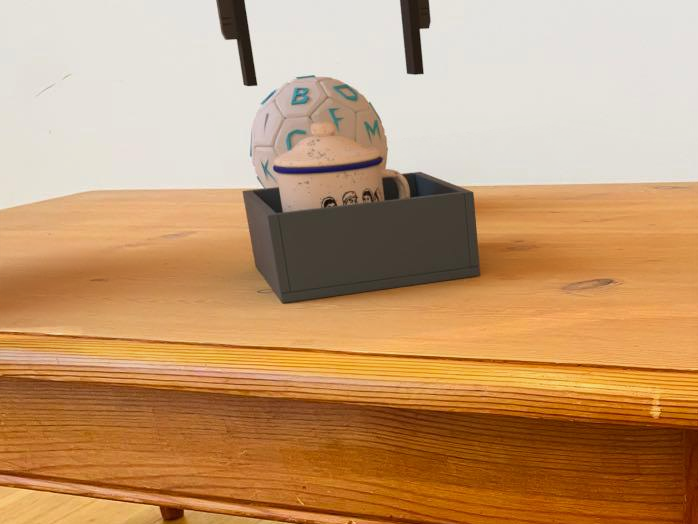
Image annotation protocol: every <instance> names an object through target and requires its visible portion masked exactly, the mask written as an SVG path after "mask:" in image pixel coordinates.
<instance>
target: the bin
mask: <svg viewBox="0 0 698 524" xmlns="http://www.w3.org/2000/svg"><path fill="white" fill-rule="evenodd" d="M401 174H402V175H403V176H404V177H405V178H406V180H407V182H408V184H409V189H410V198H403V199H399V190H398V186H397V184H396V182H395V181H394V180H393V179H392V178H390V177H387V178H382V184H383V192H384V200H385V201H377V202H368V203H360V204H351V205H342V206H334V207H325V208H316V209H308V210H299V211H290V212H283V210H282V203H281V197H280V191H279V187H274V188H265V189H264V188H257V189H249V190H248V189H247V190H242V196H243V203H244V209H245V214H246V220H247V226H248V233H249V237H250V242H251V248H252V254H253V258H254V259H253V260H254V265H255V268H256V269H257V271H258V273H259V274H260V275H261V276H262V277H263V279H264V280H265V282H266V283H267V285H269V287H270V289H271V290H272V292H273V293H274V294H275V295H276V296H277V298H278V299H279V301H280V302H281V303H282V304H289V303H295V302H303V301H309V300H316V299H317V300H318V299H325V298H331V297H338V296H345V295H353V294H359V293H367V292H374V291H381V290H388V289H396V288H403V287H409V286H417V285H418V286H419V285H425V284H430V283H431V284H433V283H438V282H447V281H452V280H453V281H454V280H460V279H466V278H467V279H468V278H474V277H480V276H481V267H480V255H479V252H480V251H479V242H478V230H477V218H476V208H475V195H474V194H475V193H474V191H471V190H469V189H467V188H464V187H462V186H458V185H456V184H454V183H451V182H448V181H446V180H444V179H440V178H438V177H435V176H432V175H430V174H428V173H426V172H425V173H424V172H422V171H415V172H406V173H405V172H404V173H401Z"/></svg>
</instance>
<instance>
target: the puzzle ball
mask: <svg viewBox="0 0 698 524" xmlns="http://www.w3.org/2000/svg"><path fill="white" fill-rule="evenodd" d="M294 77H295V76H294ZM260 105H261V106H260V107H259V108H258V110H257V112H256V113H255V117H254V119H253V121H252V125H251V128H250V129H251V131H250V132H251V133H250V149H249V157H251V163H252V165H253V167H254V173H255V175H256V179H257V181H258V182H259V183H260V185H261V186H262V187H263V189H265V188H274V187H279V185H278V178H277V172H275V171H274V170H273V166H274V160H275V158H276V157H277V156H279V155H282V154H284V153H286V152H288V151H290V150H291V149H292V148H294V147H295V146H296V145H297V144H298V143H299V142H300V141H301V140H303V139H305V138H307V137H311V136H314V135H313V134H312V132H311V125H312V124H313V123H317V122H333V123H334V124H335V128H336V132H335V134H338V135H344V136H347V137H349V138H351V139H353V140H354V141H356V142H357V143H359V144H361V145H364V146H367V147H372V148H375V149H377V150H378V151H379V153H380V157H382V159H383V161H382V162H381V163H380V167H381V169H387V168H386V167H387V164H388V163H387V161H388V151H389V147H388V138H387V135H386V134H385V133H386V132H385V128H384V126H383V124H382V123H383V122H382V120H381V117H380V115H379V114H378V112H377V111H376V109H375V108H374V106H373V104H372V103H371V101H368V99H367V98H366V97H365V95H363V94H362V93H360V92H359V91H358V89H356V88H354V87H353V86H350V84H347V83H345V82H343V81H341V80H339V79H336V78H333V77H330V76H316V75H314V74H312V75H303V76H296V77H295V78H294V79H291V80H290V82H285V83H283V84H281V85H280V86H279V87H278V88H276V89H273V91H271V92H270V93H269V94H268V95H267V96H266V97H265V98H264V99H263V100H262V101H261V103H260Z"/></svg>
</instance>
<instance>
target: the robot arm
mask: <svg viewBox="0 0 698 524" xmlns="http://www.w3.org/2000/svg"><path fill="white" fill-rule="evenodd" d="M215 2H216V8H217V14H218V20H219V27H220V33H221V35H222V37H223V39H224V41H232V40H236V44H237V51H238V57H239V63H240V70H241V77H242V84H243V86H246V87H257V86H258V79H257V74H256V73H257V72H256V67H255V60H254V53H253V48H252V40H251V33H250V27H249V21H248V15H247V7H246V1H245V0H215ZM399 5H400V15H401V16H400V17H401V26H402V36H403V37H402V39H403V47H404V58H405V69H406V74H407V75H414V76H416V75H425V73H424V62H423V61H424V60H423V50H422V38H421V37H422V36H421V30H424V29H425V30H427V29H430V26H431V22H432V21H431V19H432V18H431V10H430V8H431V7H430V0H399Z"/></svg>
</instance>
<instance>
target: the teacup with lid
mask: <svg viewBox="0 0 698 524" xmlns="http://www.w3.org/2000/svg"><path fill="white" fill-rule="evenodd" d="M311 132H312V134H313V135H314V136H311V137H307V138H305V139H303V140H301V141H300V142H299V143H298V144H297V145H296V146H295V147H294V148H292V149H291V150H290V151H288V152H286V153H284V154H282V155H279V156H277V157H276V158H275V160H274V166H273V170H274V171H275V172H277V178H278V185H279V191H280V197H281V203H282V210H283V212H290V211H299V210H308V209H316V208H325V207H334V206H342V205H351V204H360V203H368V202H377V201H385V200H384V192H383V184H382V178H387V177H390V178H392V179H393V180H394V181H395V182H396V184H397V186H398V190H399V199H403V198H410V189H409V184H408V182H407V180H406V178H405V177H404V176H403V175H402V174H403V173H400V172H399V171H398V170H395V169H391V168H386V169H381V167H380V163H381V162H382V161H383V159H382V157H380V153H379V151H378V150H377V149H375V148H372V147H367V146H364V145H361V144H359V143H357V142H356V141H354V140H353V139H351V138H349V137H347V136H344V135H338V134H335V132H336V128H335V124H334V123H333V122H317V123H313V124H312V125H311Z"/></svg>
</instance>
